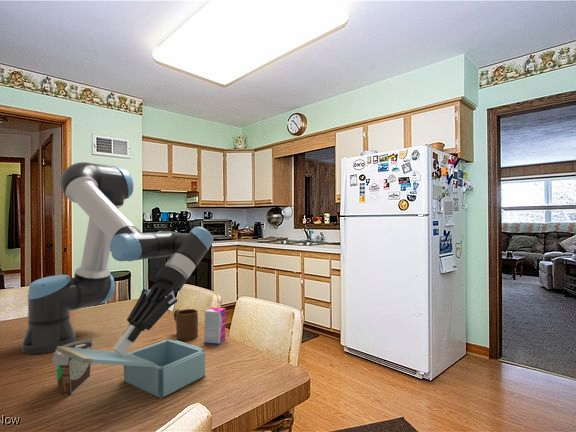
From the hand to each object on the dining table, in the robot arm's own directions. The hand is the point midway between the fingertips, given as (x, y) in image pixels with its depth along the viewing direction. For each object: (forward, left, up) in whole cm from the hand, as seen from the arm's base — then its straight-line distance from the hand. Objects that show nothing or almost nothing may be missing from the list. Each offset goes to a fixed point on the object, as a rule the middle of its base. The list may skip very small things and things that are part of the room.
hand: (117, 352), depth 80 cm
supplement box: (-28, +30, -12) cm, 43 cm away
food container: (-14, -12, -12) cm, 21 cm away
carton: (-7, +11, -12) cm, 18 cm away
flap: (-3, +5, -5) cm, 8 cm away
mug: (-39, +21, -12) cm, 46 cm away
